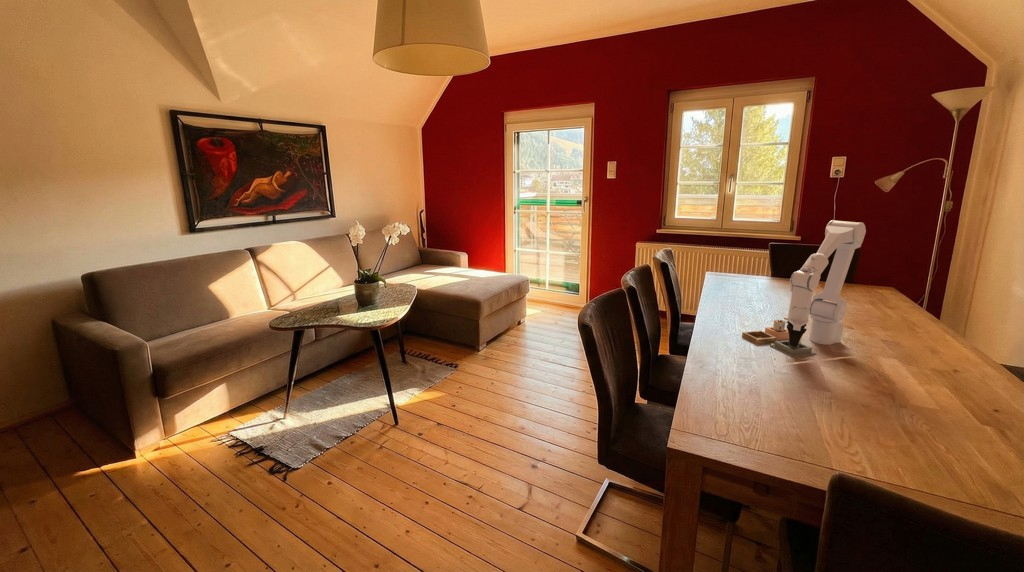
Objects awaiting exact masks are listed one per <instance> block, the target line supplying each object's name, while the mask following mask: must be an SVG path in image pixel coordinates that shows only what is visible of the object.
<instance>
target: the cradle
mask: <svg viewBox="0 0 1024 572" xmlns="http://www.w3.org/2000/svg"><path fill="white" fill-rule="evenodd" d="M788 341H789V339H786V340H776V342H775V343H770V345H769V347H770V348H773V350H774V349H775V350H777V351H779V352H780V353H783V354H785V355H787V356H789V357H791V358H796V357H806V356H815V355H817V353H816V352H814V351H812V350H813V347H810V346H809V345H806V344H804V343H802V342H801V345H800V348H797V349H792V348H790V347H788V346H787V345H788Z"/></svg>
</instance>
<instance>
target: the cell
mask: <svg viewBox="0 0 1024 572" xmlns="http://www.w3.org/2000/svg"><path fill="white" fill-rule="evenodd" d="M803 336H804V334H803V335H802V337H801V339H800V341H799V344H798V346H797V347H794V346H790V344H789V341H788V345H787V346H788V347H790V348H792V349H797V348H800V345H801V343H802V339H803Z"/></svg>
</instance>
